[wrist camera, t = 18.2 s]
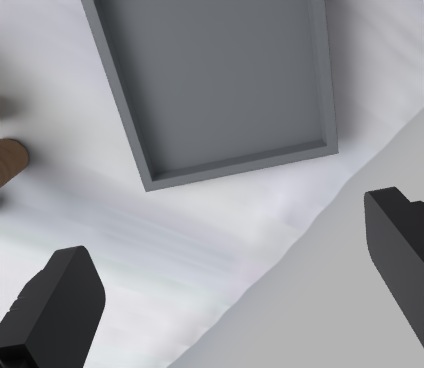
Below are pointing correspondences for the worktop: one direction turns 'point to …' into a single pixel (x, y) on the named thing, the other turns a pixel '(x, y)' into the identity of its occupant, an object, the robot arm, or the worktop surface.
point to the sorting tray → (217, 84)
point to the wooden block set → (11, 159)
